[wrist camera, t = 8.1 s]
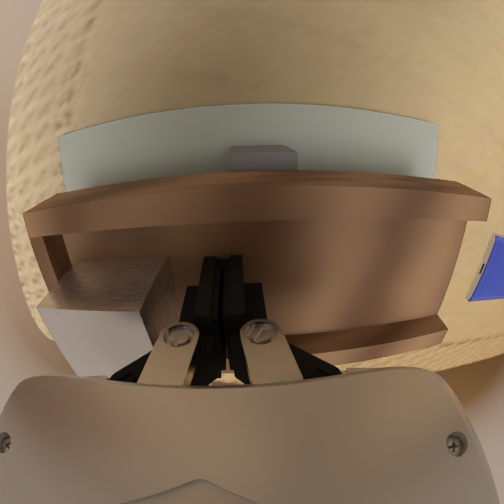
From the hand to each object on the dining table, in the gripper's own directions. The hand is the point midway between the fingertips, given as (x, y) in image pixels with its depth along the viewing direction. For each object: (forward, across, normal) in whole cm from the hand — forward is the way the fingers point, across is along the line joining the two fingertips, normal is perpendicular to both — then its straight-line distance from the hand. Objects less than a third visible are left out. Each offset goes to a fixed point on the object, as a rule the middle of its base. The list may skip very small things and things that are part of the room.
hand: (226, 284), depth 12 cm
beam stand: (+7, -2, 0) cm, 7 cm away
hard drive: (+7, -32, +6) cm, 34 cm away
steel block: (0, +5, +1) cm, 5 cm away
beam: (+2, -2, 0) cm, 3 cm away
